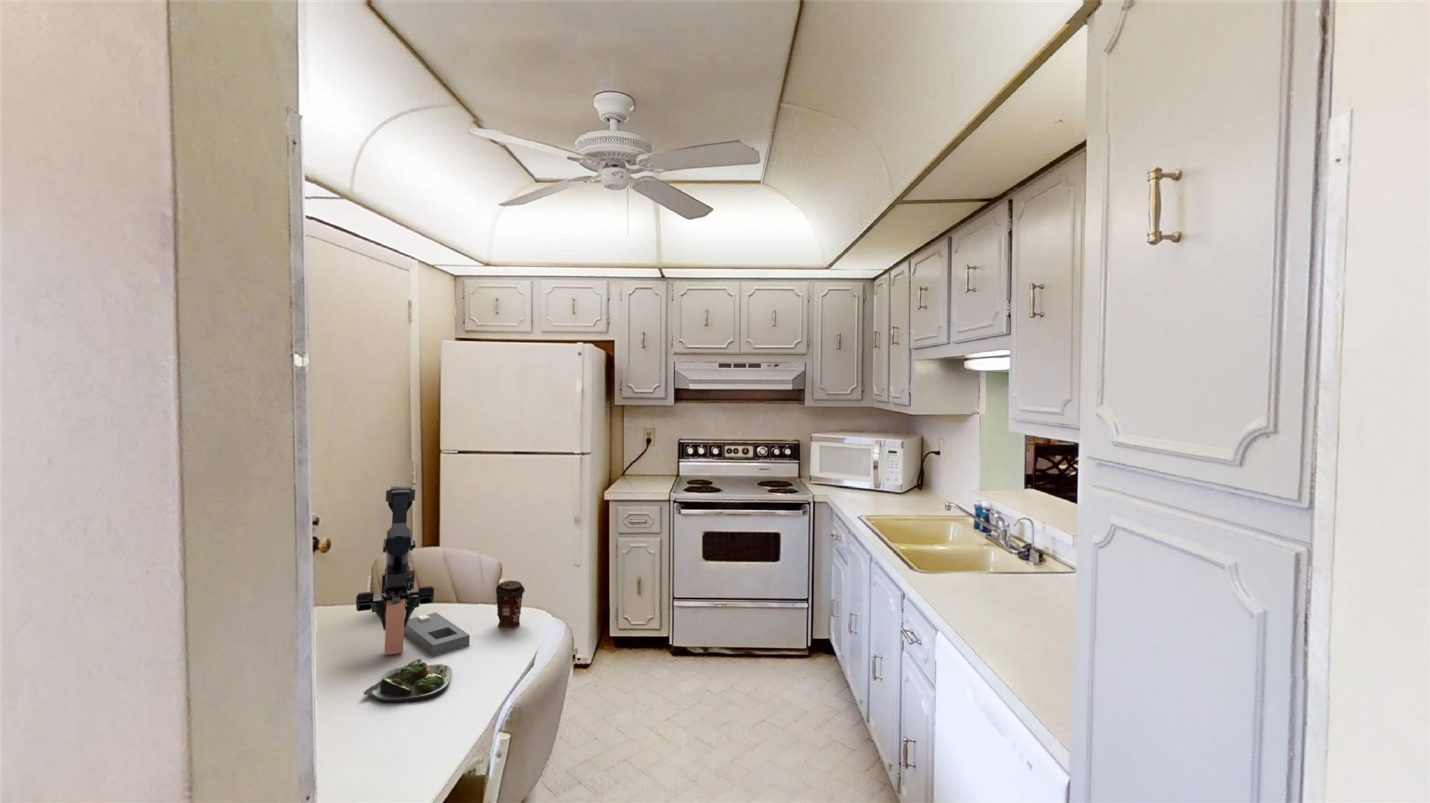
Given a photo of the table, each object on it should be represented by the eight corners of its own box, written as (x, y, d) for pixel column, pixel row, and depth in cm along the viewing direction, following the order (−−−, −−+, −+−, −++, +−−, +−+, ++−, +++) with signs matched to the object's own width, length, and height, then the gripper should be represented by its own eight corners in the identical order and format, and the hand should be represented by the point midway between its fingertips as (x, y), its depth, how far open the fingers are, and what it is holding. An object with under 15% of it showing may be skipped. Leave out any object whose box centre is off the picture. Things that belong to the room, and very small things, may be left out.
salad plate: (383, 668, 151) (384, 650, 151) (458, 663, 156) (459, 646, 156) (357, 708, 133) (358, 687, 133) (443, 701, 137) (444, 682, 137)
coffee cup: (487, 628, 177) (489, 585, 177) (504, 618, 185) (506, 577, 185) (512, 633, 175) (513, 590, 175) (528, 623, 183) (530, 581, 182)
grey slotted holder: (401, 630, 173) (401, 617, 173) (435, 621, 180) (436, 609, 180) (432, 656, 158) (433, 642, 158) (469, 645, 166) (469, 632, 166)
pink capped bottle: (384, 648, 159) (387, 595, 159) (403, 645, 161) (405, 593, 161) (384, 655, 155) (386, 600, 155) (403, 652, 158) (405, 598, 157)
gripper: (358, 563, 157) (353, 619, 148) (435, 557, 166) (435, 610, 156) (359, 583, 164) (354, 638, 155) (433, 576, 173) (432, 627, 163)
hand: (394, 628), depth 157 cm, fingers closed on pink capped bottle, 4 cm apart
